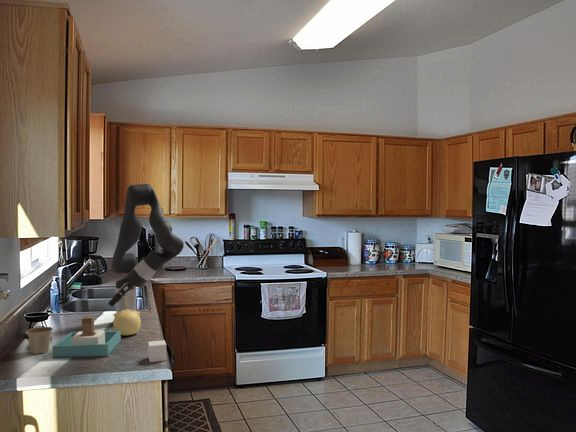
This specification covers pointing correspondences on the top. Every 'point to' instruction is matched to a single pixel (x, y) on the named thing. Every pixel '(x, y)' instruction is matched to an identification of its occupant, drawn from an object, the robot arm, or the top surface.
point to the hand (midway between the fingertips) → (112, 302)
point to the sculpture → (127, 322)
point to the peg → (88, 326)
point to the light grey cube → (157, 351)
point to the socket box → (87, 344)
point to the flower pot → (39, 339)
